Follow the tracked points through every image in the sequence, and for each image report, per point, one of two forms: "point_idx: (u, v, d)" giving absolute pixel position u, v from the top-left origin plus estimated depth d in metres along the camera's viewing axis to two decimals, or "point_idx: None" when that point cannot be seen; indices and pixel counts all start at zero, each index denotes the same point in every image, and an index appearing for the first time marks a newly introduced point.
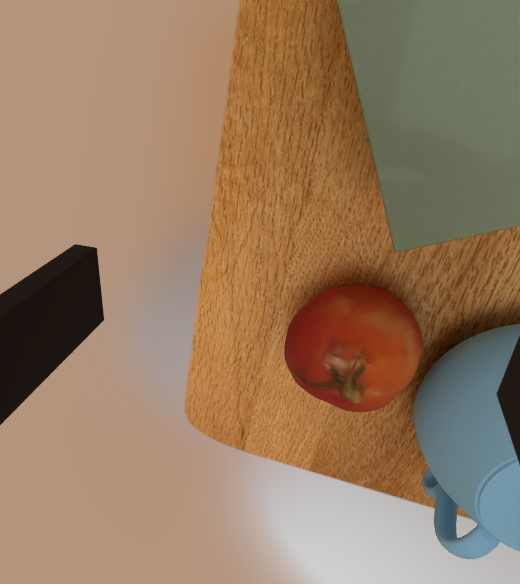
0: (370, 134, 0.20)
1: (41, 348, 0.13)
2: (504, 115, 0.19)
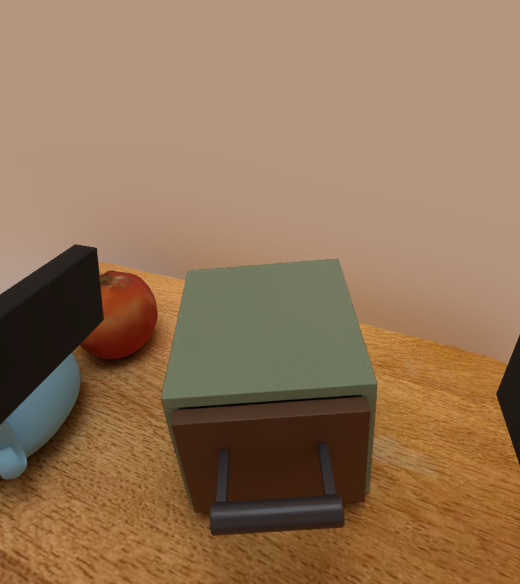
0: (253, 265, 0.40)
1: (41, 348, 0.13)
2: (243, 300, 0.36)
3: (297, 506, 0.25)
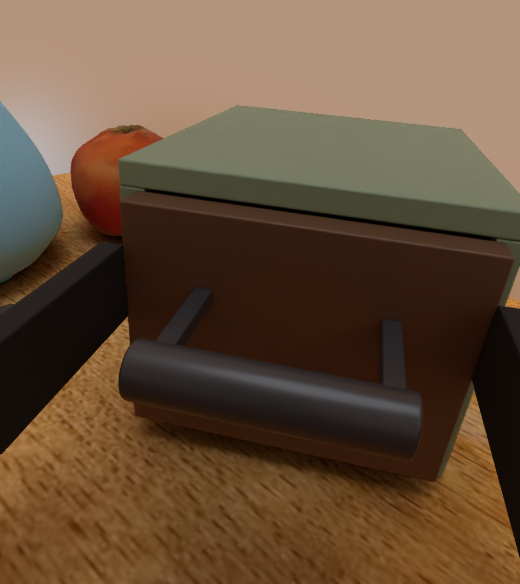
0: (331, 115, 0.27)
1: (72, 342, 0.13)
2: (304, 128, 0.23)
3: (317, 382, 0.11)
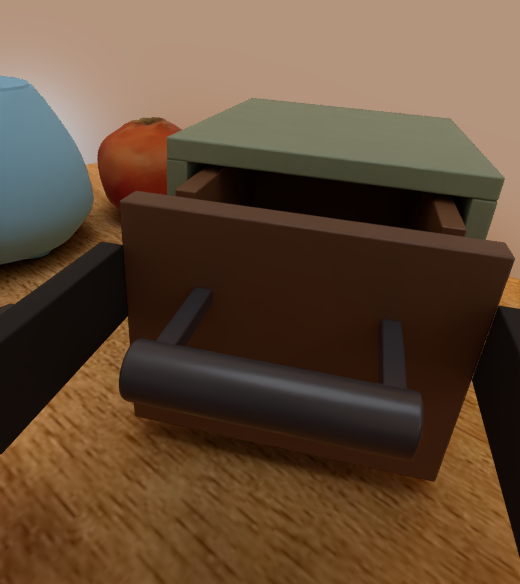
0: None
1: (72, 342, 0.13)
2: (314, 116, 0.26)
3: (317, 382, 0.11)
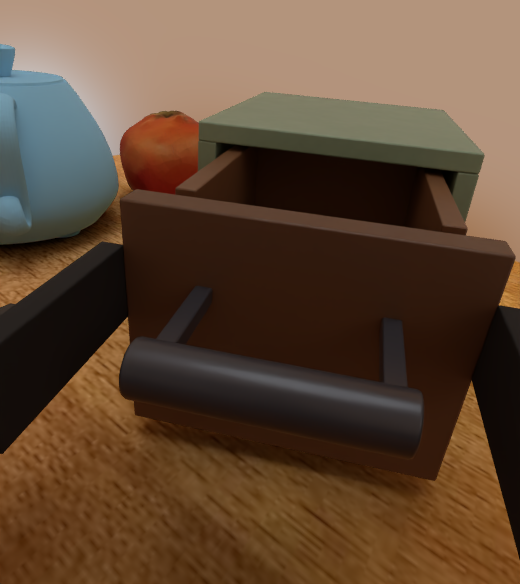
0: None
1: (73, 342, 0.13)
2: (321, 107, 0.30)
3: (318, 380, 0.11)
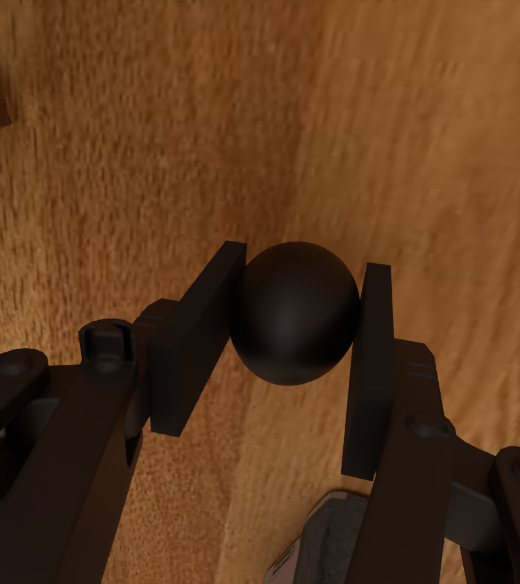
0: None
1: (217, 335, 0.14)
2: None
3: None
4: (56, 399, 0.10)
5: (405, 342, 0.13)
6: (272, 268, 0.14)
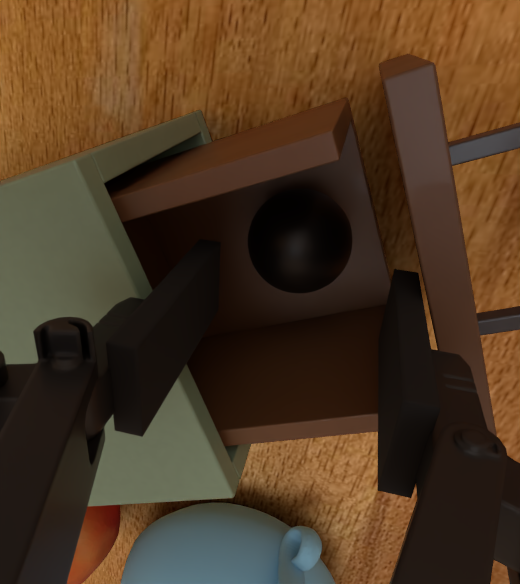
0: None
1: (187, 334, 0.14)
2: None
3: None
4: (11, 398, 0.10)
5: (439, 352, 0.12)
6: (286, 193, 0.18)
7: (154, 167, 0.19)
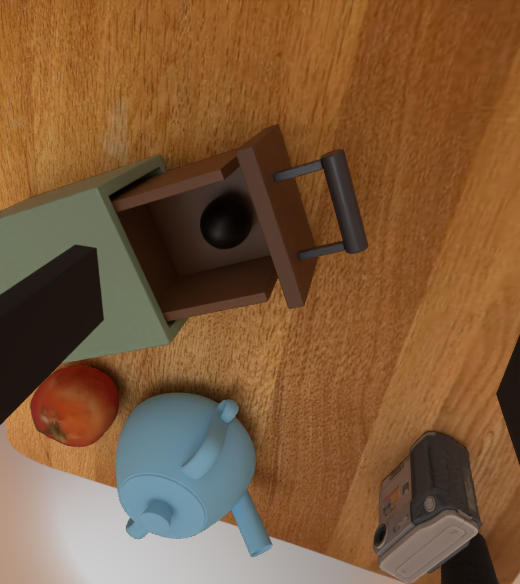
0: None
1: (41, 348, 0.13)
2: None
3: (341, 190, 0.32)
4: None
5: None
6: (220, 203, 0.37)
7: (152, 180, 0.38)
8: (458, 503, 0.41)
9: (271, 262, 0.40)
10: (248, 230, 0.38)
